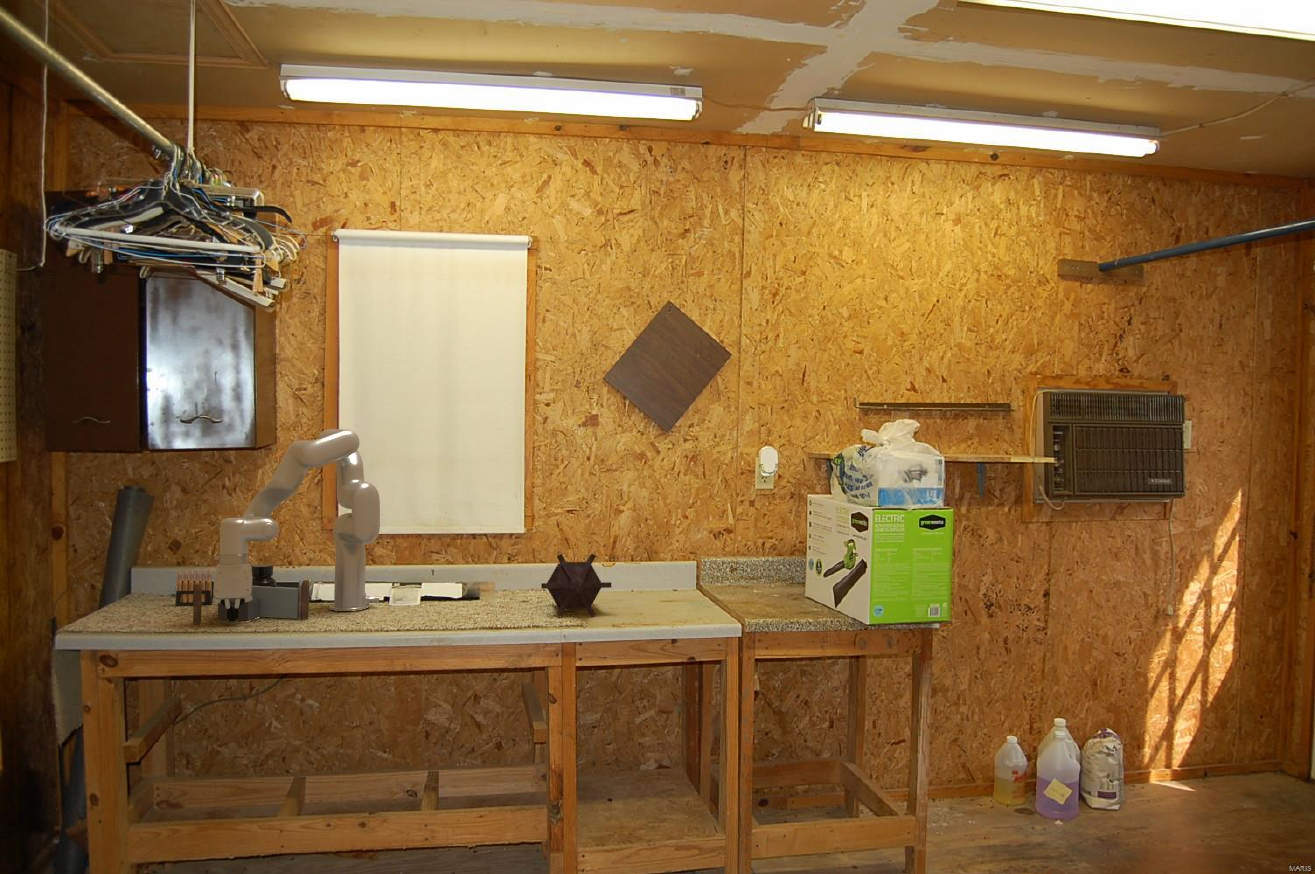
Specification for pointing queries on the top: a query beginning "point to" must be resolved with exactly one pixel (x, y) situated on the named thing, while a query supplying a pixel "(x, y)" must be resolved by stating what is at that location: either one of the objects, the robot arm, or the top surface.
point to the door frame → (302, 612)
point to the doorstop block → (241, 610)
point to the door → (277, 601)
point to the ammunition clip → (186, 595)
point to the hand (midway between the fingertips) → (232, 620)
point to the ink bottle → (262, 575)
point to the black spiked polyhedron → (574, 585)
